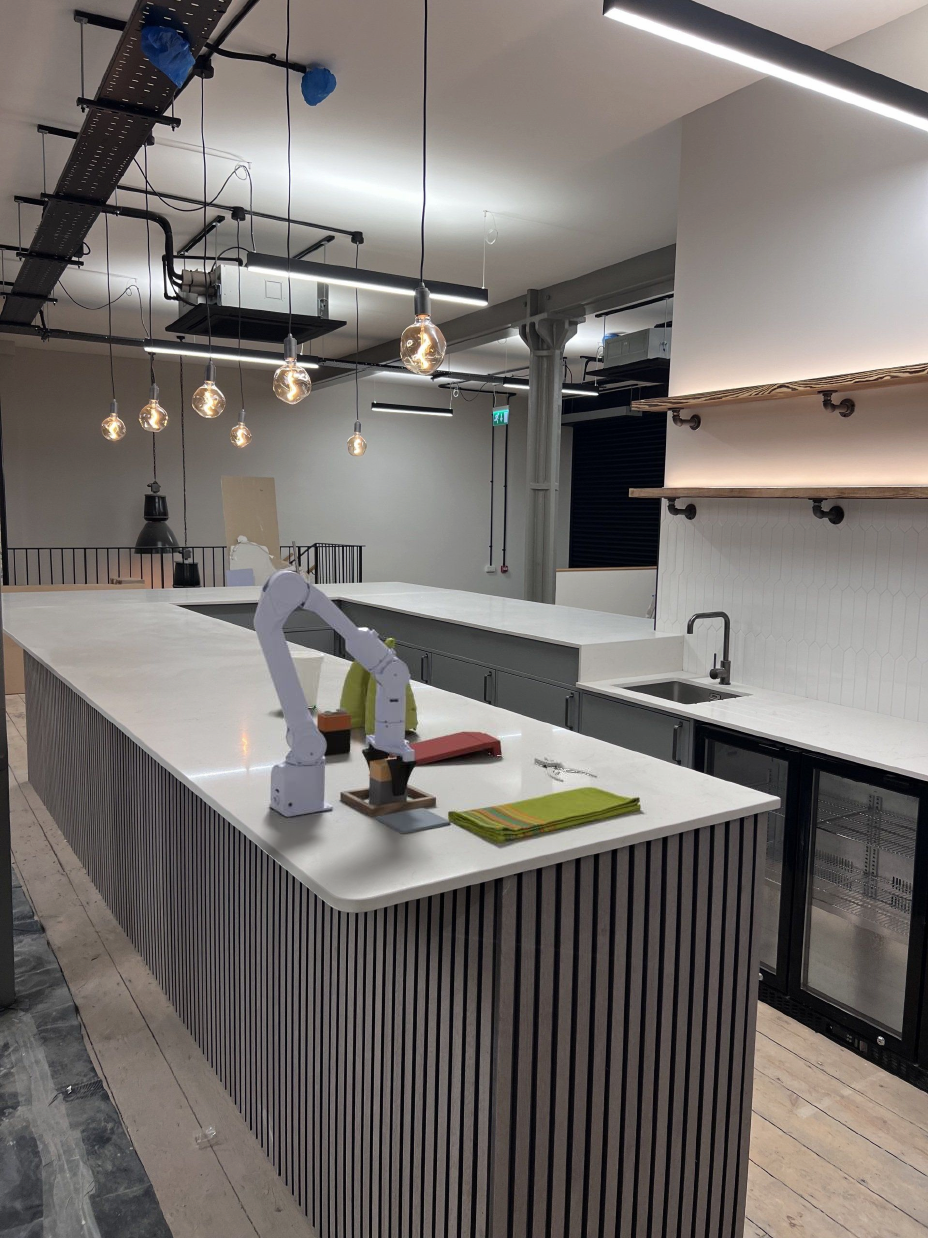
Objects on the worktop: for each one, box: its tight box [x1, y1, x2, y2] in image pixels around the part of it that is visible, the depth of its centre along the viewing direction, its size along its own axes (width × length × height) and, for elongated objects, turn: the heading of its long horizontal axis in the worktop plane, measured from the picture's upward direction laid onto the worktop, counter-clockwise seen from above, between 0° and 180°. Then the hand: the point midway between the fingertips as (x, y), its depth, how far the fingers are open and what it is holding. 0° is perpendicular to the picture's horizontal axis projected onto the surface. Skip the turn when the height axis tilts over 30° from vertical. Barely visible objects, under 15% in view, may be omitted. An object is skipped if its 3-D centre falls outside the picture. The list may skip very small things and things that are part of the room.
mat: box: [375, 807, 452, 835], centre depth 159 cm, size 10×9×1 cm
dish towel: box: [447, 786, 642, 844], centre depth 165 cm, size 15×36×3 cm, turn 127°
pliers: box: [534, 756, 598, 782], centre depth 197 cm, size 10×2×15 cm
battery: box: [316, 708, 352, 756], centre depth 205 cm, size 4×7×10 cm, turn 126°
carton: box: [389, 731, 503, 767], centre depth 206 cm, size 12×5×25 cm
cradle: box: [339, 783, 437, 818], centre depth 169 cm, size 14×12×2 cm
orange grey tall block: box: [368, 757, 408, 806], centre depth 169 cm, size 6×4×8 cm, turn 126°
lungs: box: [339, 637, 419, 737], centre depth 230 cm, size 25×16×24 cm, turn 33°
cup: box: [290, 651, 325, 707], centre depth 257 cm, size 12×12×15 cm
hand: (388, 790), depth 169 cm, fingers open, 7 cm apart
